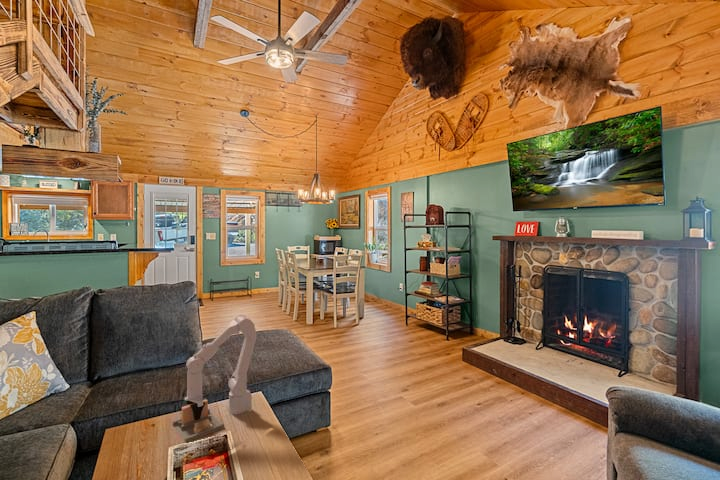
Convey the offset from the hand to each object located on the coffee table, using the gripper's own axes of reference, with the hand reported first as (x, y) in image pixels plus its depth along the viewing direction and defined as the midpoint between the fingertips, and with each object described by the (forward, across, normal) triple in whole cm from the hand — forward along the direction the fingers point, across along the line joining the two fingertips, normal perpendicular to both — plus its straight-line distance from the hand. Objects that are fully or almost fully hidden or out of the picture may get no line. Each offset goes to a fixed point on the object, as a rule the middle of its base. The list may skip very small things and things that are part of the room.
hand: (194, 416), depth 145 cm
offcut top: (+1, +8, 0) cm, 8 cm away
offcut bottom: (+2, +8, 0) cm, 9 cm away
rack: (+3, +4, 0) cm, 5 cm away
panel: (+2, 0, 0) cm, 2 cm away
